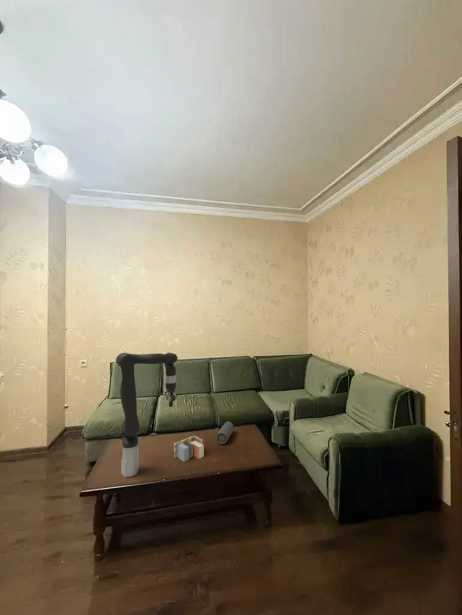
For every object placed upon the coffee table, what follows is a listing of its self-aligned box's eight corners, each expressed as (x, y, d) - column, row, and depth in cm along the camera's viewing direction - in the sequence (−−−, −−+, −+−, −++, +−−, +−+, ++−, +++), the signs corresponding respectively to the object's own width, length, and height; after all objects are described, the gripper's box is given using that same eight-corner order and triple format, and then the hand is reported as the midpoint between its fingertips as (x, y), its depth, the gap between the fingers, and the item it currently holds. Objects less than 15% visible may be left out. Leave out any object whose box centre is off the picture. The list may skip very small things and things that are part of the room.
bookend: (188, 458, 186) (188, 445, 186) (182, 455, 191) (182, 442, 191) (192, 456, 189) (192, 443, 189) (187, 453, 193) (187, 440, 194)
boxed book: (190, 453, 193) (190, 442, 193) (195, 451, 196) (195, 440, 196) (198, 459, 185) (198, 447, 186) (203, 456, 189) (203, 445, 189)
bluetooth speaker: (227, 446, 203) (227, 432, 204) (215, 445, 206) (215, 431, 206) (234, 433, 225) (234, 421, 226) (223, 432, 228) (223, 420, 228)
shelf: (182, 463, 180) (182, 448, 180) (173, 458, 187) (173, 443, 187) (203, 454, 192) (203, 439, 192) (194, 449, 199) (194, 435, 200)
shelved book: (183, 461, 182) (183, 449, 182) (177, 457, 188) (177, 445, 188) (188, 459, 185) (188, 447, 185) (182, 455, 190) (182, 443, 191)
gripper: (161, 380, 192) (161, 405, 191) (171, 384, 182) (171, 410, 182) (170, 379, 197) (170, 403, 196) (180, 382, 187) (180, 407, 187)
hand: (170, 406), depth 189 cm, fingers closed
